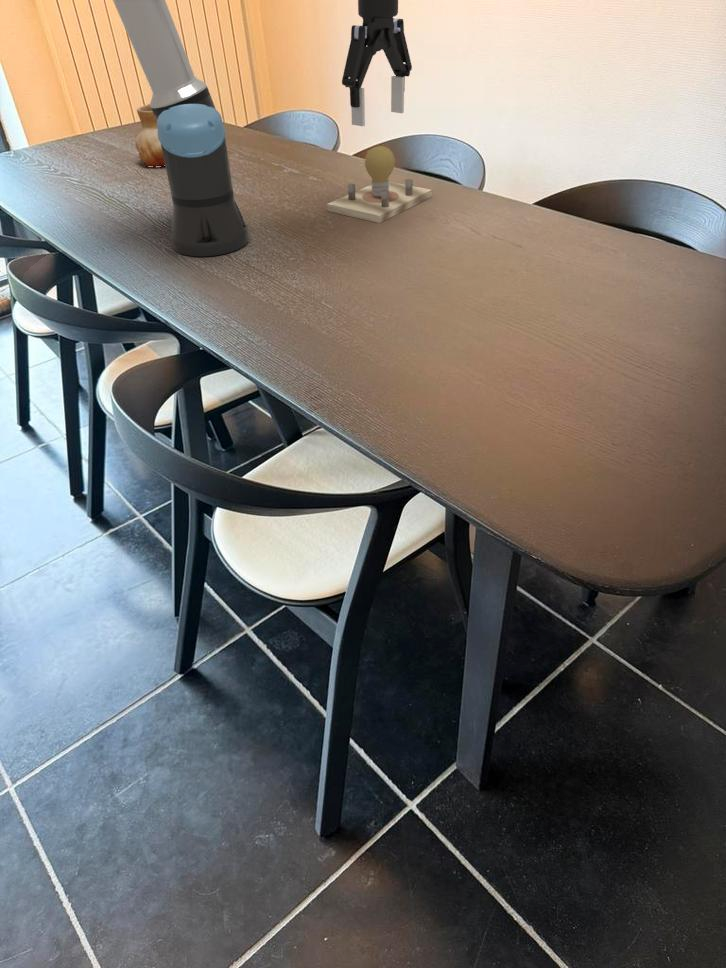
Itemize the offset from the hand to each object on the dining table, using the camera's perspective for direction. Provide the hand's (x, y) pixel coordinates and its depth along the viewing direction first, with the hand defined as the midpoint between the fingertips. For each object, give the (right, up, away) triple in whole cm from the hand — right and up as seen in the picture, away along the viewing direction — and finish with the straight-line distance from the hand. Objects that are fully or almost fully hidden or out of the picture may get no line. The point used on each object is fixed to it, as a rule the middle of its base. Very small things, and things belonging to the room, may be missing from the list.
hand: (378, 118), depth 138 cm
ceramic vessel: (-53, +15, +47) cm, 72 cm away
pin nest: (+1, -13, +11) cm, 17 cm away
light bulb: (+1, -12, +10) cm, 16 cm away
